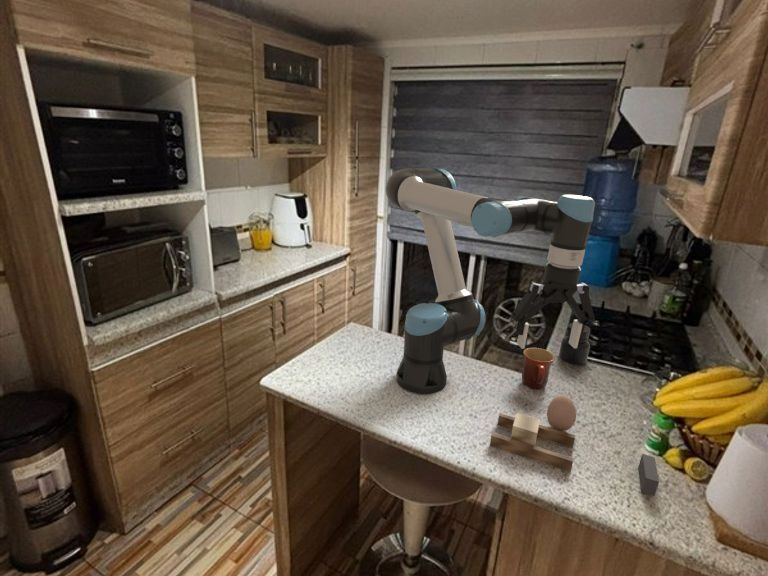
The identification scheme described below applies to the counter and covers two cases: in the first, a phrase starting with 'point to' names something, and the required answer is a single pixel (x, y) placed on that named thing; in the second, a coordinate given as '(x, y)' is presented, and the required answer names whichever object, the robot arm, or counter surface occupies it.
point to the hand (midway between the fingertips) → (546, 345)
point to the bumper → (648, 475)
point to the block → (525, 429)
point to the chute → (533, 451)
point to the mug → (536, 367)
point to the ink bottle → (575, 354)
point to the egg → (561, 413)
